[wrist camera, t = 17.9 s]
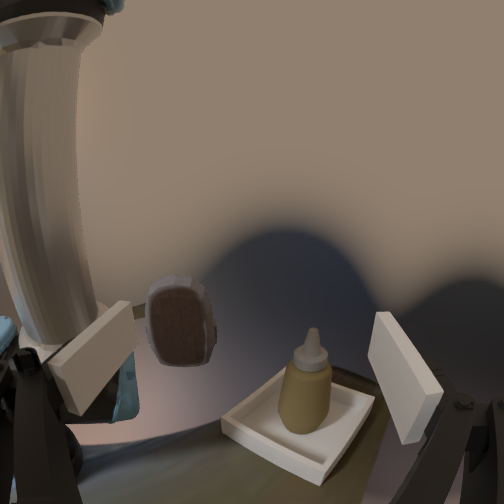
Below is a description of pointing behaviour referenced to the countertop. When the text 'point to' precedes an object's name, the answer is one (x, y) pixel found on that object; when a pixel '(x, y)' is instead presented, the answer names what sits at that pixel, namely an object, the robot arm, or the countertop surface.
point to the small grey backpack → (180, 322)
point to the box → (293, 445)
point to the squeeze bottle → (306, 387)
